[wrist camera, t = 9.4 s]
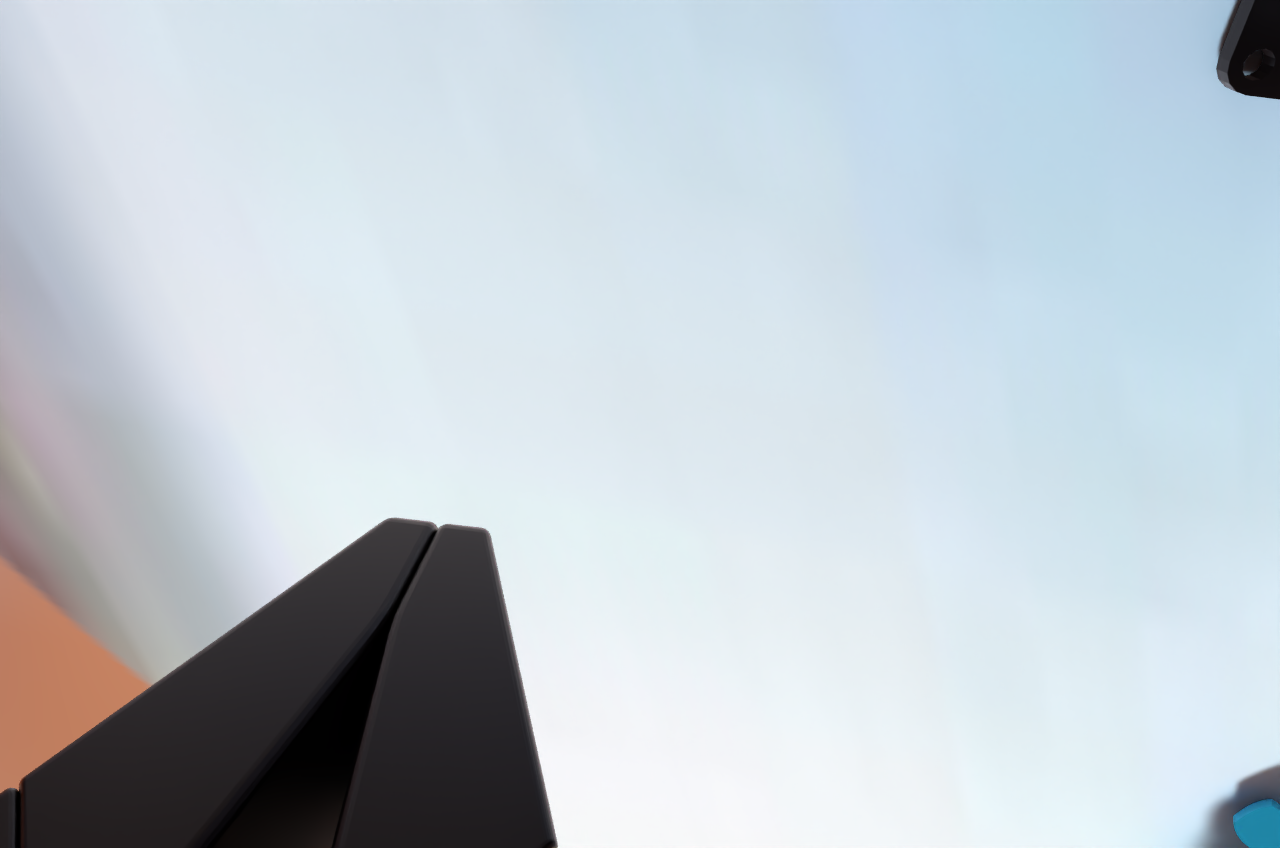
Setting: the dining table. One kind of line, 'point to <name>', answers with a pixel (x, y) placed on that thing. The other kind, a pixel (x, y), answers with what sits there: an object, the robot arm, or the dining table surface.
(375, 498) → the dining table surface
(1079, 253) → the dining table surface
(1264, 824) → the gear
